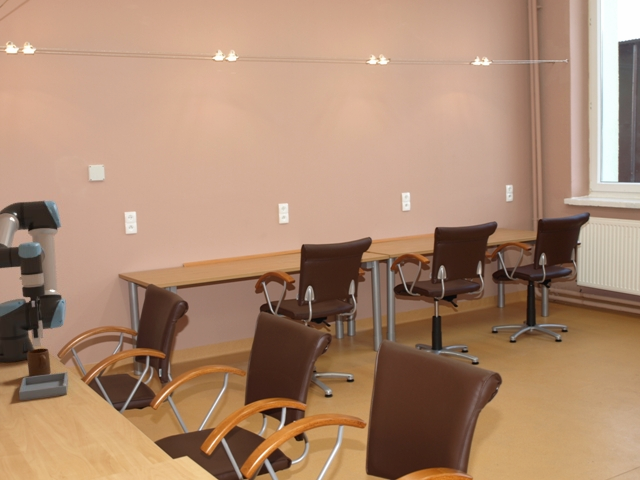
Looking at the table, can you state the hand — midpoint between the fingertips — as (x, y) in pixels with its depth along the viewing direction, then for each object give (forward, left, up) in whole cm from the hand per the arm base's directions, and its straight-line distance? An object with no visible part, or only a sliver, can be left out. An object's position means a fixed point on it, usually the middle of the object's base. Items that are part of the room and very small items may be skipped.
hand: (38, 342), depth 263 cm
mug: (0, 0, -14) cm, 13 cm away
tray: (+17, +2, -13) cm, 21 cm away
